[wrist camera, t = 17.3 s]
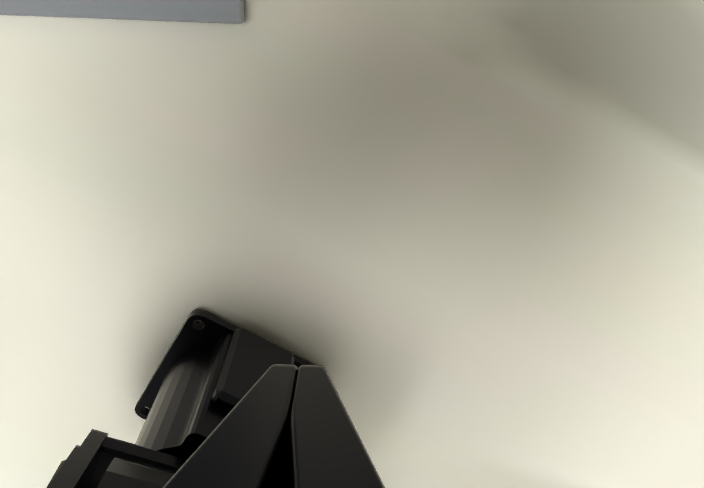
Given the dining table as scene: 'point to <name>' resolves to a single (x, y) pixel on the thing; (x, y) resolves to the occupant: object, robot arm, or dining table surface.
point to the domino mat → (131, 9)
